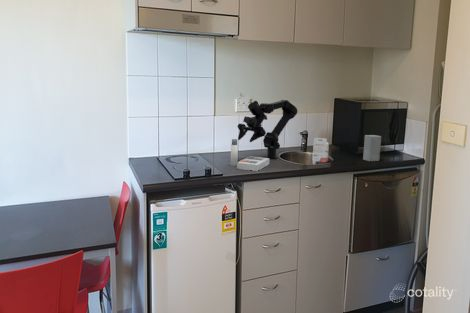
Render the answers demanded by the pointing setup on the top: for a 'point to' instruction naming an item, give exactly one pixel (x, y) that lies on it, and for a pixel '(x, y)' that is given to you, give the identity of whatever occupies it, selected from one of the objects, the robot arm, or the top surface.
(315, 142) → the ink cartridge box
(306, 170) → the top surface
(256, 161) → the socket block
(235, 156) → the white bottle
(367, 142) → the skincare box
